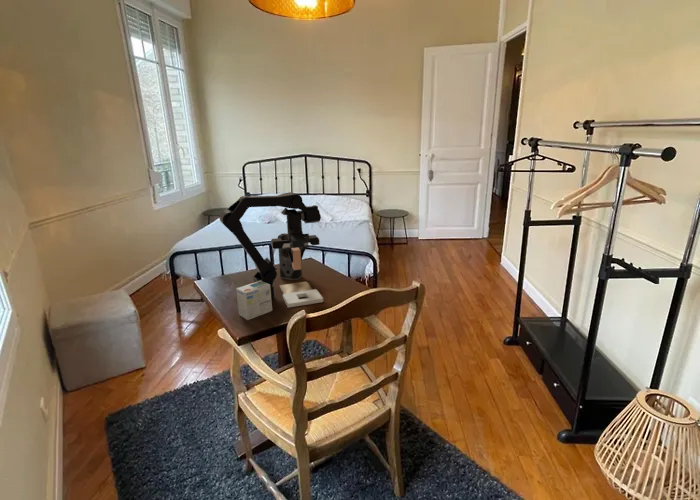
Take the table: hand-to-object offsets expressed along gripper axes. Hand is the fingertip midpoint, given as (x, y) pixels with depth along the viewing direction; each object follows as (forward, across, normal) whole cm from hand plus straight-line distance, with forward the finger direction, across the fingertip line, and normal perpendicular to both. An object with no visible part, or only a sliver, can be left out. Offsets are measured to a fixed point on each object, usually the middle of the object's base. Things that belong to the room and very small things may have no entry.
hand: (296, 262), depth 156 cm
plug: (+2, 0, 0) cm, 2 cm away
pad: (+13, 0, +3) cm, 13 cm away
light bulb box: (+13, -18, -15) cm, 27 cm away
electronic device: (+13, 0, +17) cm, 22 cm away
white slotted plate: (+13, 0, -9) cm, 16 cm away
